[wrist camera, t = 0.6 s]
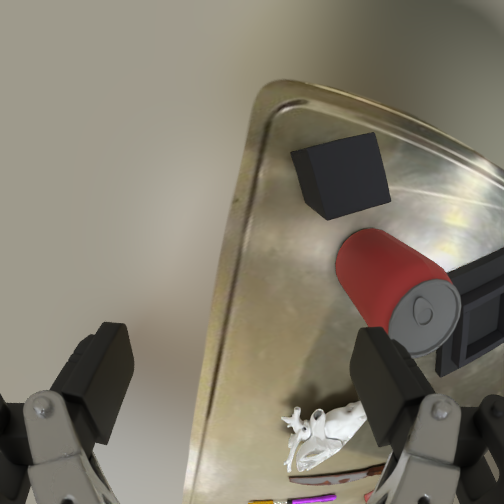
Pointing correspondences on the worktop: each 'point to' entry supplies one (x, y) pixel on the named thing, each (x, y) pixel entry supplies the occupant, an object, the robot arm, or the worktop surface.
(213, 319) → the worktop surface
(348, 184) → the pad block
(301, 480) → the kitchen knife
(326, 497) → the marker pen
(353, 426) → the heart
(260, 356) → the worktop surface
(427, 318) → the beer can
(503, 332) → the base pad
